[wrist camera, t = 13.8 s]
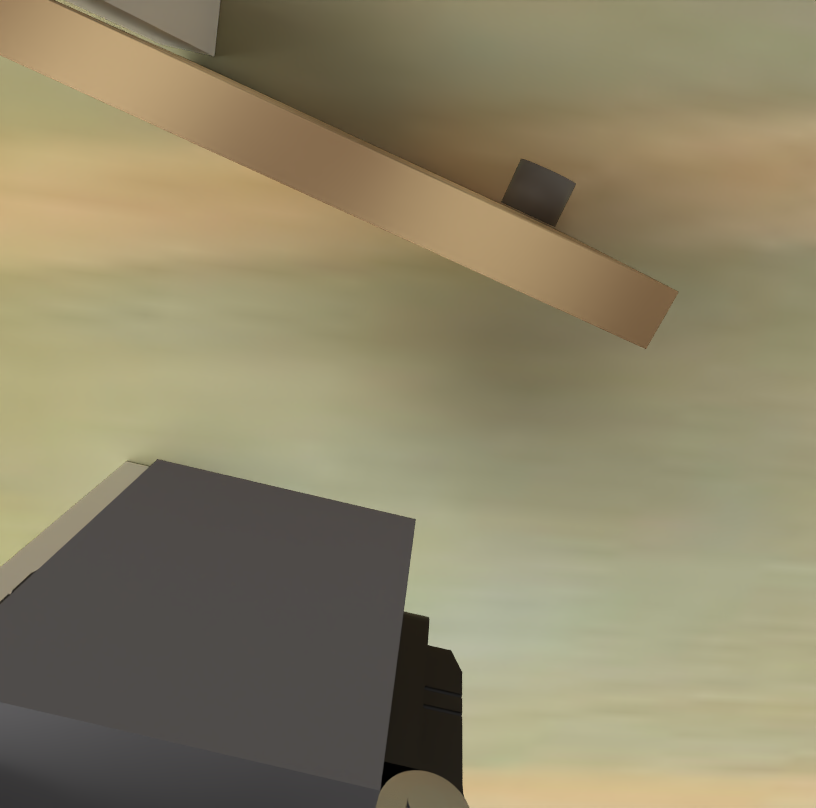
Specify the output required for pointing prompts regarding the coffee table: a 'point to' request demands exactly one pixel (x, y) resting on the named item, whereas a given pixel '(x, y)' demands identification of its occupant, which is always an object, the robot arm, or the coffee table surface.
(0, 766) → the grey cube-like block
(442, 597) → the coffee table surface
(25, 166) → the coffee table surface
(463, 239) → the door
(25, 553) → the door frame
